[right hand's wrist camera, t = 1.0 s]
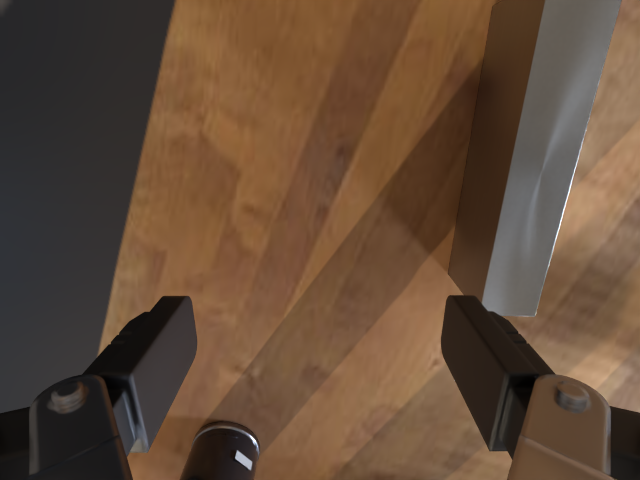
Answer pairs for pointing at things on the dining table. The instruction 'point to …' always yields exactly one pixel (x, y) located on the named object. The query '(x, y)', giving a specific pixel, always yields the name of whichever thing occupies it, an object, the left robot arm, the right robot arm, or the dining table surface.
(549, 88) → the bar
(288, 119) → the dining table surface
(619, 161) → the dining table surface
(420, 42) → the dining table surface
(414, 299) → the dining table surface
